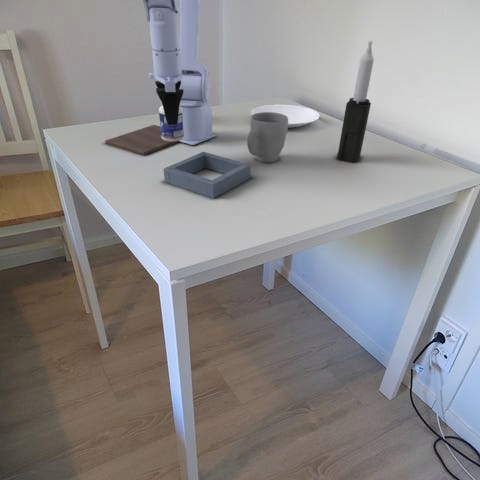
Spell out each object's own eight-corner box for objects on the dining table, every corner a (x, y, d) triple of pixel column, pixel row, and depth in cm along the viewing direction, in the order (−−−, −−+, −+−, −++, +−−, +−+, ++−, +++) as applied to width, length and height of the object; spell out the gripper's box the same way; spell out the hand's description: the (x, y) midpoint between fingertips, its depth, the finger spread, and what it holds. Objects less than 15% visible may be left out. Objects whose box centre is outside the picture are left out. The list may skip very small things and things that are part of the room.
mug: (263, 149, 110) (265, 109, 104) (291, 158, 106) (295, 117, 100) (233, 162, 103) (234, 120, 97) (262, 171, 99) (265, 128, 93)
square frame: (203, 164, 102) (203, 151, 100) (250, 178, 96) (250, 164, 94) (164, 182, 93) (163, 168, 91) (213, 198, 88) (213, 184, 86)
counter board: (154, 127, 123) (153, 124, 122) (191, 137, 117) (190, 134, 116) (105, 143, 111) (105, 140, 111) (143, 155, 105) (143, 152, 105)
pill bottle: (162, 134, 100) (158, 92, 94) (184, 134, 100) (181, 92, 94) (160, 142, 96) (156, 98, 90) (184, 141, 96) (181, 98, 90)
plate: (246, 112, 137) (246, 104, 136) (309, 111, 139) (310, 104, 138) (255, 132, 122) (255, 123, 120) (326, 131, 124) (327, 123, 122)
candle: (360, 156, 108) (384, 40, 92) (356, 163, 105) (380, 43, 89) (341, 153, 110) (361, 38, 94) (336, 159, 106) (356, 41, 90)
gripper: (145, 43, 91) (152, 111, 100) (146, 55, 81) (154, 130, 89) (178, 43, 92) (182, 110, 101) (183, 55, 82) (187, 129, 90)
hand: (171, 120), depth 95 cm, fingers closed on pill bottle, 5 cm apart
